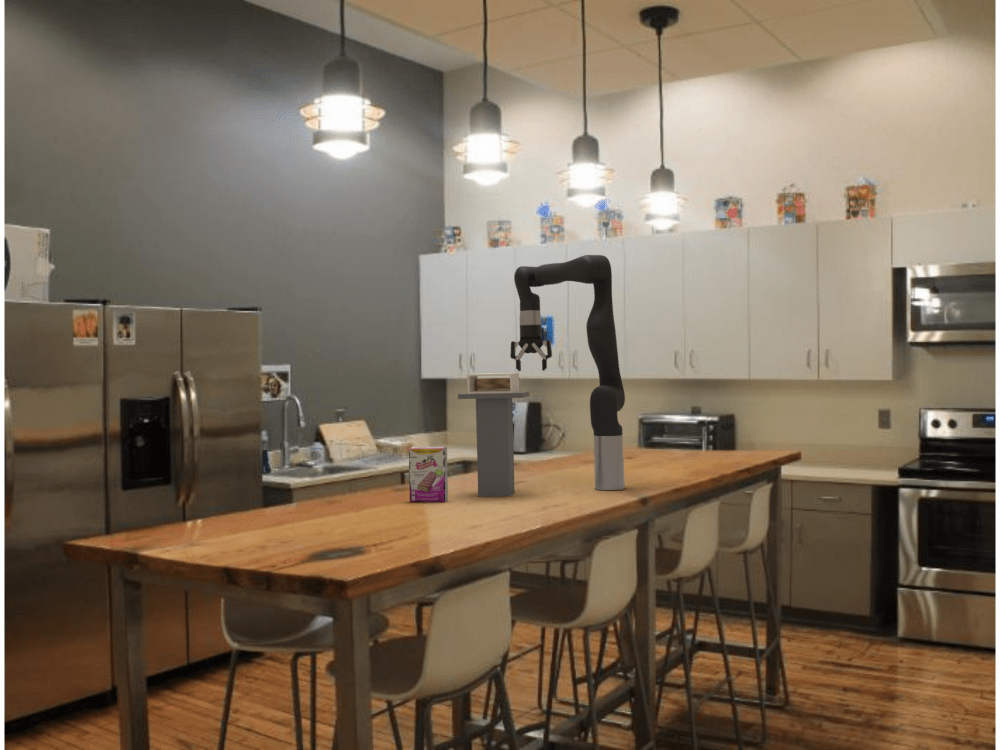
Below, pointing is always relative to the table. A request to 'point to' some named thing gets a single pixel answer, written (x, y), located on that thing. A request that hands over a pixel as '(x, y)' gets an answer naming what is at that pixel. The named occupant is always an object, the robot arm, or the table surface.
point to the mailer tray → (493, 384)
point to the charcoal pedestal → (495, 442)
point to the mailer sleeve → (513, 388)
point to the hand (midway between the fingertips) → (531, 370)
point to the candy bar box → (428, 474)
